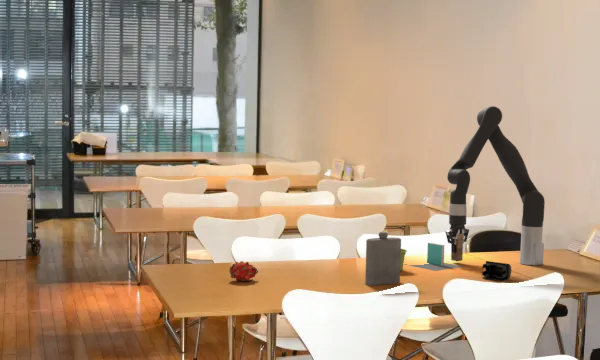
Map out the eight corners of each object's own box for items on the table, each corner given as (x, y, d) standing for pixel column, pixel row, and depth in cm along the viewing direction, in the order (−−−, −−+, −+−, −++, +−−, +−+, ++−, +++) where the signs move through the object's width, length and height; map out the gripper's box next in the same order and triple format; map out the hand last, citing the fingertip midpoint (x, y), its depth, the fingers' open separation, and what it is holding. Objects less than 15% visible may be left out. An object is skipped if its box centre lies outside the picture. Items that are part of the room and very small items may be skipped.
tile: (443, 265, 366) (444, 245, 365) (440, 265, 365) (441, 245, 364) (430, 262, 372) (430, 242, 371) (427, 263, 371) (427, 243, 370)
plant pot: (388, 272, 349) (389, 252, 348) (380, 268, 358) (381, 248, 357) (409, 271, 351) (410, 251, 350) (401, 267, 360) (401, 247, 359)
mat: (463, 267, 364) (463, 266, 363) (435, 271, 352) (435, 270, 352) (426, 260, 381) (426, 259, 381) (398, 263, 370) (398, 262, 370)
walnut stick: (462, 260, 371) (463, 233, 370) (457, 261, 369) (457, 234, 368) (456, 259, 374) (456, 232, 373) (451, 260, 372) (451, 233, 371)
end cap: (511, 279, 340) (511, 263, 339) (504, 282, 334) (504, 265, 333) (488, 276, 346) (488, 260, 345) (481, 278, 340) (481, 262, 339)
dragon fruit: (225, 285, 324) (255, 288, 328) (232, 275, 317) (262, 279, 321) (225, 265, 328) (254, 268, 332) (231, 255, 322) (261, 259, 326)
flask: (394, 280, 332) (395, 230, 330) (402, 283, 327) (403, 232, 325) (361, 283, 326) (363, 232, 324) (369, 286, 320) (370, 234, 319)
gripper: (453, 215, 363) (452, 254, 364) (474, 213, 372) (473, 251, 373) (440, 214, 369) (439, 252, 370) (461, 212, 377) (460, 249, 379)
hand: (456, 252), depth 371 cm, fingers closed on walnut stick, 3 cm apart
